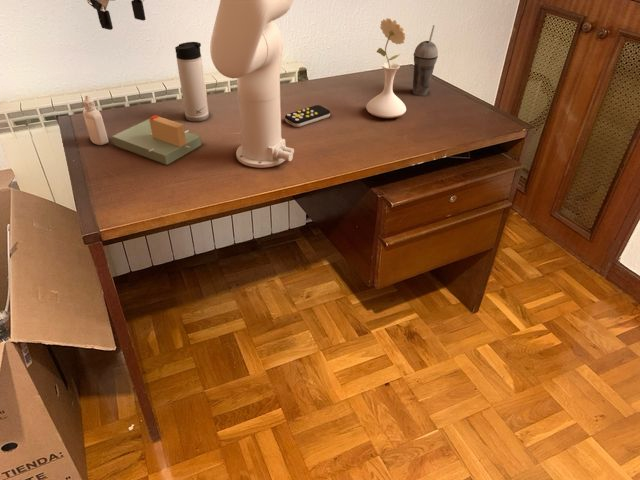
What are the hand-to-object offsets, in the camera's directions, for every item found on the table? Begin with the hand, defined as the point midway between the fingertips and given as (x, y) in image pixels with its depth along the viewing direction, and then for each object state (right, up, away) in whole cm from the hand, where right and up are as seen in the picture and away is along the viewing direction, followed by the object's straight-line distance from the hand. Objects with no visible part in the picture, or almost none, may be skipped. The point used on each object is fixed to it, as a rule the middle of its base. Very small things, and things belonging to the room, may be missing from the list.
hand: (124, 23), depth 115 cm
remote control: (+43, -17, +22) cm, 51 cm away
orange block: (+9, -27, +4) cm, 28 cm away
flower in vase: (+65, -14, +26) cm, 71 cm away
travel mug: (+12, -17, +21) cm, 30 cm away
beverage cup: (+78, -5, +39) cm, 87 cm away
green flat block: (+6, -27, +7) cm, 29 cm away
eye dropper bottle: (-10, -26, +9) cm, 29 cm away
